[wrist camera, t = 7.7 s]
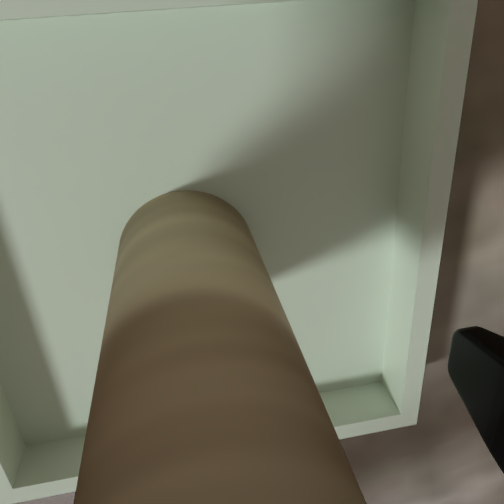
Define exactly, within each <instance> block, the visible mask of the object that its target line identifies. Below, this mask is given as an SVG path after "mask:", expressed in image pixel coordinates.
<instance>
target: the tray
mask: <svg viewBox="0 0 504 504" xmlns="http://www.w3.org/2000/svg"><path fill="white" fill-rule="evenodd" d="M477 4H478V0H0V504H13V503H18V502H23V501H28V500H33V499H38V498H44V497H49V496H54V495H59V494H64V493H69V492H74V491H76V487H77V481H78V475H79V470H80V464H81V458H82V453H83V447H84V441H85V436H86V430H87V424H88V418H89V413H90V407H91V401H92V396H93V390H94V384H95V379H96V373H97V367H98V362H99V356H100V350H101V345H102V339H103V333H104V328H105V322H106V316H107V310H108V305H109V299H110V293H111V288H112V282H113V276H114V271H115V265H116V259H117V254H118V248H119V242H120V238H121V235H122V231H123V229H124V227H125V225H126V223H127V222H128V220H129V219H130V218H131V216H132V215H133V214H134V213H135V212H136V211H137V210H138V209H139V208H140V207H141V206H143V205H144V204H145V203H147V202H148V201H150V200H152V199H154V198H156V197H158V196H160V195H163V194H166V193H170V192H175V191H186V190H189V191H200V192H205V193H208V194H211V195H214V196H217V197H219V198H221V199H223V200H224V201H226V202H227V203H229V204H230V205H232V206H233V207H234V208H235V209H236V210H237V211H238V212H239V213H240V214H241V216H242V217H243V219H244V220H245V222H246V223H247V225H248V228H249V230H250V232H251V234H252V237H253V239H254V242H255V244H256V246H257V249H258V251H259V253H260V256H261V258H262V260H263V263H264V265H265V267H266V270H267V272H268V274H269V277H270V279H271V281H272V284H273V286H274V288H275V291H276V293H277V295H278V298H279V300H280V302H281V305H282V307H283V309H284V312H285V314H286V316H287V319H288V321H289V323H290V326H291V328H292V330H293V333H294V335H295V337H296V340H297V342H298V345H299V347H300V349H301V352H302V354H303V356H304V359H305V361H306V363H307V366H308V368H309V370H310V373H311V375H312V377H313V380H314V382H315V384H316V387H317V389H318V391H319V394H320V396H321V398H322V401H323V403H324V405H325V408H326V410H327V412H328V415H329V417H330V419H331V422H332V424H333V426H334V429H335V431H336V433H337V436H338V438H339V439H344V438H349V437H354V436H359V435H365V434H370V433H375V432H380V431H385V430H390V429H395V428H400V427H405V426H410V425H415V424H417V418H418V411H419V404H420V397H421V390H422V383H423V376H424V369H425V363H426V356H427V349H428V342H429V335H430V328H431V321H432V314H433V307H434V301H435V294H436V287H437V280H438V273H439V266H440V259H441V252H442V245H443V239H444V232H445V225H446V218H447V211H448V204H449V197H450V190H451V183H452V177H453V170H454V163H455V156H456V149H457V142H458V135H459V128H460V121H461V115H462V108H463V101H464V94H465V87H466V80H467V73H468V66H469V59H470V53H471V46H472V39H473V32H474V25H475V18H476V11H477Z"/></svg>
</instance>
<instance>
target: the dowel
mask: <svg viewBox="0 0 504 504" xmlns="http://www.w3.org/2000/svg"><path fill="white" fill-rule="evenodd" d="M74 504H366V501H365V499H364V497H363V494H362V492H361V490H360V487H359V485H358V483H357V480H356V478H355V476H354V473H353V471H352V469H351V466H350V464H349V462H348V459H347V457H346V455H345V452H344V450H343V447H342V445H341V443H340V440H339V438H338V436H337V433H336V431H335V429H334V426H333V424H332V422H331V419H330V417H329V415H328V412H327V410H326V408H325V405H324V403H323V401H322V398H321V396H320V394H319V391H318V389H317V387H316V384H315V382H314V380H313V377H312V375H311V373H310V370H309V368H308V366H307V363H306V361H305V359H304V356H303V354H302V352H301V349H300V347H299V345H298V342H297V340H296V337H295V335H294V333H293V330H292V328H291V326H290V323H289V321H288V319H287V316H286V314H285V312H284V309H283V307H282V305H281V302H280V300H279V298H278V295H277V293H276V291H275V288H274V286H273V284H272V281H271V279H270V277H269V274H268V272H267V270H266V267H265V265H264V263H263V260H262V258H261V256H260V253H259V251H258V249H257V246H256V244H255V242H254V239H253V237H252V234H251V232H250V230H249V228H248V225H247V223H246V222H245V220H244V219H243V217H242V216H241V214H240V213H239V212H238V211H237V210H236V209H235V208H234V207H233V206H232V205H230V204H229V203H227V202H226V201H224V200H223V199H221V198H219V197H217V196H214V195H211V194H208V193H205V192H200V191H189V190H186V191H175V192H170V193H166V194H163V195H160V196H158V197H156V198H154V199H152V200H150V201H148V202H147V203H145V204H144V205H143V206H141V207H140V208H139V209H138V210H137V211H136V212H135V213H134V214H133V215H132V216H131V218H130V219H129V220H128V222H127V223H126V225H125V227H124V229H123V231H122V235H121V238H120V242H119V248H118V254H117V259H116V265H115V271H114V276H113V282H112V288H111V293H110V299H109V305H108V310H107V316H106V322H105V328H104V333H103V339H102V345H101V350H100V356H99V362H98V367H97V373H96V379H95V384H94V390H93V396H92V401H91V407H90V413H89V418H88V424H87V430H86V436H85V441H84V447H83V453H82V458H81V464H80V470H79V475H78V481H77V487H76V492H75V498H74Z"/></svg>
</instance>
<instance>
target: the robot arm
mask: <svg viewBox="0 0 504 504" xmlns="http://www.w3.org/2000/svg"><path fill="white" fill-rule="evenodd" d="M448 371H449V375H450V377H451V380H452V381H453V383H454V385H455V387H456V389H457V391H458V393H459V395H460V397H461V399H462V400H463V402H464V404H465V406H466V408H467V410H468V412H469V414H470V416H471V418H472V419H473V421H474V423H475V425H476V427H477V429H478V431H479V433H480V435H481V437H482V438H483V440H484V442H485V444H486V446H487V447H488V449H489V451H490V453H491V454H492V456H493V458H494V459H495V461H496V462H497V464H498V466H499V467H500V469H501V470H502V472H503V473H504V337H503V336H500V335H498V334H496V333H493V332H491V331H489V330H486V329H484V328H482V327H478V326H473V327H467V328H461V329H458V330H456V331H455V332H454V334H453V337H452V342H451V348H450V354H449V359H448Z"/></svg>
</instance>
